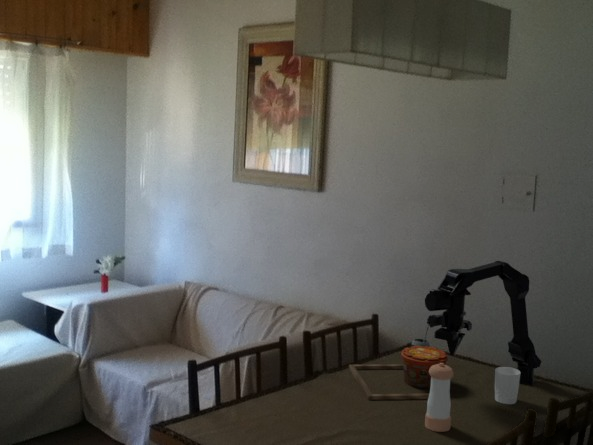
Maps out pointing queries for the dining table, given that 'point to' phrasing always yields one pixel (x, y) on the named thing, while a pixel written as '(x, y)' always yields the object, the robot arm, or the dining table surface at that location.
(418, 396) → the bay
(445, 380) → the pepper shaker
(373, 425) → the dining table surface
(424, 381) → the food container
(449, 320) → the robot arm
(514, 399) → the white cup
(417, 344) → the mate gourd
